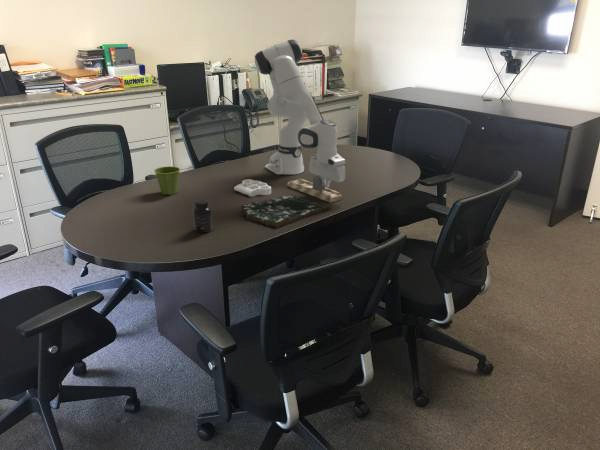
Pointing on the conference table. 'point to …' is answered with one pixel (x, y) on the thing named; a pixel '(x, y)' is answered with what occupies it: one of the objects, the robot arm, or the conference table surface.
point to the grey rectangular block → (318, 183)
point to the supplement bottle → (202, 217)
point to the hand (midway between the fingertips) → (326, 186)
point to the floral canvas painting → (281, 210)
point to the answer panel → (308, 188)
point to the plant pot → (168, 179)
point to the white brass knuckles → (253, 188)
